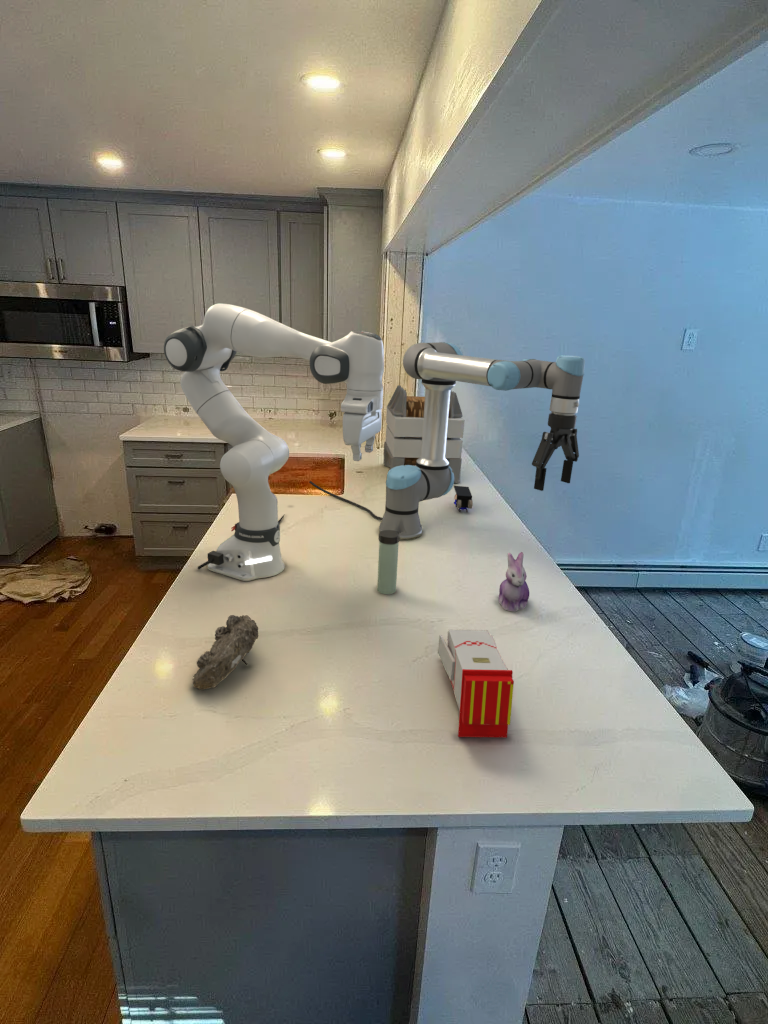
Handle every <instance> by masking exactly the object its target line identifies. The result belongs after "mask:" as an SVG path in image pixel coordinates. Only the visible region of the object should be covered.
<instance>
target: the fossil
mask: <svg viewBox="0 0 768 1024" xmlns="http://www.w3.org/2000/svg"><path fill="white" fill-rule="evenodd" d="M258 639H259V627H258V625H257V622H256V621H255V619H252V618H251V617H250V616H249V615H248V614H244V615H243V614H242V615H240V616H238V615H235V614H230V615H228V617H227V620H226V621H225V626H224V625H223V626H219V627H217V628H216V629H215V631H214V642H213V644H212V645H211V648H210V649H209V650H207V651H205V652H204V653H203V654H201V655H200V656H199V657H198V659H197V661H196V666H197V668H198V670H197V671H196V672H195V673H193V675H192V676H193V678H192V683H193V688H195V689H198V690H200V691H203V690H207V689H211V688H212V689H214V688H216V687H217V686H218V685H219V684H220V683H221V682H222V681H224V680H225V679H226V678H227V677H228V676H229V675H230V674H231V673H232V672H233V671H234V670H236V668H237V667H238V664H239V663H241V662H242V663H243V664H244V665H245V666H248V665H249V664H248V662H247V661H246V659H244V658H245V656H246V655H247V654H249V653H250V652H251V650H252V649H253V646H254V645H255V643H256V641H257V640H258Z"/></svg>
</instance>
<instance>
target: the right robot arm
mask: <svg viewBox="0 0 768 1024" xmlns="http://www.w3.org/2000/svg"><path fill="white" fill-rule="evenodd" d="M585 365H586V360H585V358H584V357H582V356H578V355H566V354H565V355H564V354H563V355H558V356H557V357H556V360H555V361H549V360H541V359H536V358H524V359H521V360H506V359H505V360H504V359H503V360H502V359H496V358H487V357H479V356H471V355H464V354H463V352H462V350H461V349H460V347H459V346H457V345H456V344H455V343H451V342H445V341H443V342H442V341H441V342H440V341H439V342H438V341H437V342H417V343H414V344H412V345H411V346H409V347H408V348H407V350H406V351H405V353H404V355H403V358H402V366H403V369H404V372H405V373H406V374H407V375H408V376H409V377H411V378H412V379H415V380H421V385H422V386H423V387H424V389H425V392H424V397H425V404H424V419H423V434H422V449H421V457H420V458H418V459H417V461H416V466H413V465H401V466H396V467H394V468H392V469H390V468H389V470H388V472H387V474H386V479H385V504H384V505H385V507H384V508H385V509H384V513H383V515H382V517H381V516H377V515H376V514H375V513H373V511H372V510H370V509H369V508H368V507H365V506H364V505H361V504H359V503H356V502H354V501H351V500H349V499H347V498H345V497H342V496H339V495H337V494H334V493H332V492H331V491H328V490H326V489H324V488H322V487H320V486H319V485H317V484H316V483H314V482H313V481H311V480H309V484H310V485H312V486H313V487H314V488H316V489H317V490H320V491H321V492H323V493H324V494H327V495H329V496H330V497H331V496H332V497H333V498H336V499H339V500H340V501H342V502H345V503H347V504H351V505H352V506H355V507H357V508H359V509H362V510H363V511H366V512H367V513H369V514H370V516H371V517H373V518H374V519H376V520H379V521H381V522H379V526H378V533H379V532H380V531H383V530H394V531H397V532H399V534H400V541H410V540H415V539H418V538H420V537H421V536H422V535H423V525H422V524H421V518H420V515H419V507H420V506H419V505H420V502H423V501H427V500H431V499H437V498H440V497H443V496H446V495H448V493H450V492H451V490H452V489H453V488H454V484H455V483H454V473H452V469H451V467H450V466H449V462H448V461H447V459H446V458H445V453H446V441H447V428H448V416H449V404H450V392H451V391H452V389H453V388H454V387H455V386H456V384H457V382H461V383H465V384H473V385H479V386H487V387H491V388H492V389H494V390H496V391H503V392H504V391H511V390H520V389H532V388H533V389H534V388H539V389H546V390H551V398H550V404H549V413H548V418H547V419H548V420H547V426H548V427H549V428H550V431H549V432H548V431H543V432H542V435H541V440H540V442H539V445H538V447H537V449H536V452H535V454H534V457H533V460H532V461H531V466H533V467H535V475H534V477H535V478H534V485H533V489H534V490H537V491H539V492H543V491H544V489H545V484H546V483H545V482H546V476H547V468H546V466H547V465H548V463H549V461H550V459H551V457H552V456H553V454H554V453H555V451H556V450H557V449H558V448H560V447H561V449H562V452H563V455H564V458H565V459H563V463H562V468H561V469H562V470H561V475H560V482H562V483H566V484H571V478H572V472H573V466H574V463H576V462H578V461H579V457H580V453H579V444H578V428H576V423H577V419H578V416H577V414H578V412H579V411H578V410H579V406H580V397H581V391H582V385H583V380H584V376H585Z"/></svg>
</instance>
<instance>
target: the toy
mask: <svg viewBox="0 0 768 1024" xmlns="http://www.w3.org/2000/svg"><path fill="white" fill-rule="evenodd" d="M446 640H447V643H446V641H445V639H444V636H443V635H442V634H439V637H438V646H437V656H438V657H439V659H440V661H441V663H442V666H443V668H444V670H445V672H446V674H447V677H448V679H449V681H450V684H451V687H452V690H453V693H454V697H455V701H456V705H457V708H458V711H459V714H458V715H459V716H458V730H457V731H458V732H457V737H458V738H508V731H509V726H510V725H511V717H512V707H513V697H514V696H513V695H514V684H515V680H514V679H513V673H514V671H513V670H512V669H508V667H507V665H506V662H505V661H504V659H503V658H502V655H501V653H500V651H499V649H498V647H497V643H496V639H495V637H494V635H493V634H491V632H490V631H489V629H467V628H466V629H465V628H463V629H461V628H460V629H459V628H448V630H447V639H446Z"/></svg>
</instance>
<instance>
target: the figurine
mask: <svg viewBox="0 0 768 1024" xmlns="http://www.w3.org/2000/svg"><path fill="white" fill-rule="evenodd" d="M506 556H507V569H506V571H505V579H504V580H502V581H501V583H500V585H499V591H498V592H499V593H498V597H497V598H498V600H497V601H498V604H499V605H500V606H501V607H502V609H503V610H505V611H507V612H508V611H509V612H518V611H520V610H521V611H522V610H524V609H525V608H526V607H527V605H528V601H529V599H530V588H529V585H528V584H527V581H526V580H527V571H526V570H525V567H524V552H523V551H520V552H519V553H518V555H517V557H516V559H515V557H514V556H513V554H512V553H511V552H508V553H507V555H506Z"/></svg>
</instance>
